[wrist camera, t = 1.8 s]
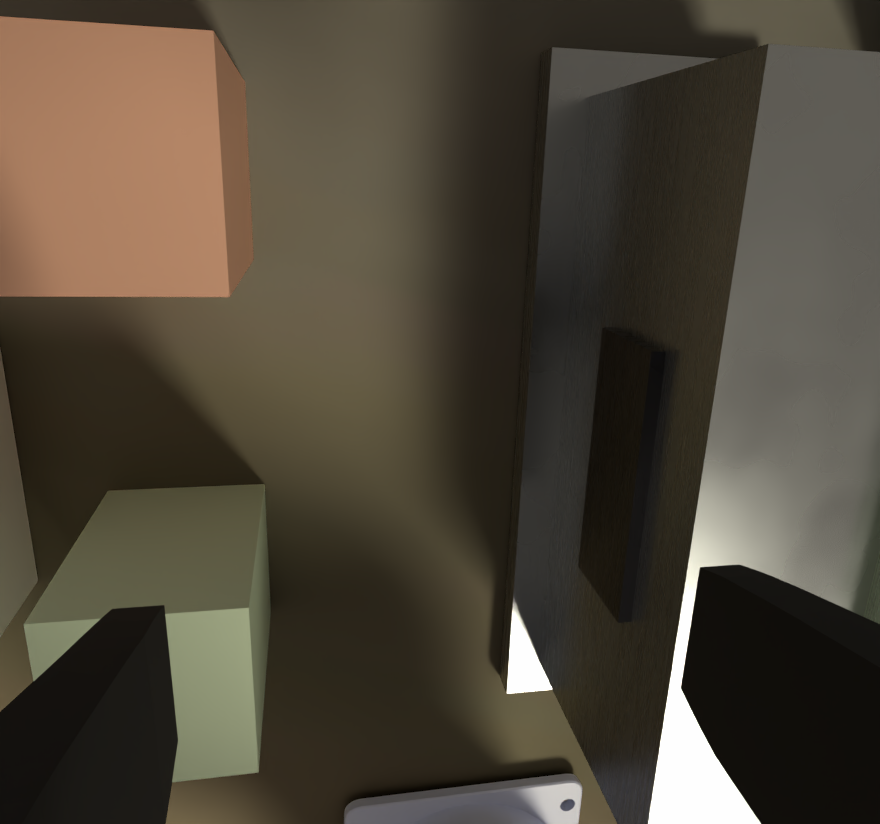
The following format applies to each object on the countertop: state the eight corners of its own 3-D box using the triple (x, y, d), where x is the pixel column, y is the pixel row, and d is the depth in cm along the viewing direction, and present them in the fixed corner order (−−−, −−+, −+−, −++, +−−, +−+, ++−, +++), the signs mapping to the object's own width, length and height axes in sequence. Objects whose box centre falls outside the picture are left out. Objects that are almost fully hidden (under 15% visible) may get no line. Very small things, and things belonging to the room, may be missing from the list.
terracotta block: (253, 259, 18) (230, 296, 12) (79, 257, 17) (-34, 296, 11) (245, 82, 16) (213, 30, 11) (56, 71, 16) (-84, 10, 10)
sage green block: (270, 610, 21) (258, 772, 15) (124, 621, 20) (52, 796, 14) (264, 483, 19) (248, 607, 14) (107, 490, 19) (23, 624, 13)
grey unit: (673, 660, 24) (859, 902, 16) (499, 677, 23) (605, 945, 15) (765, 67, 18) (1120, -19, 10) (541, 52, 17) (745, -57, 9)
